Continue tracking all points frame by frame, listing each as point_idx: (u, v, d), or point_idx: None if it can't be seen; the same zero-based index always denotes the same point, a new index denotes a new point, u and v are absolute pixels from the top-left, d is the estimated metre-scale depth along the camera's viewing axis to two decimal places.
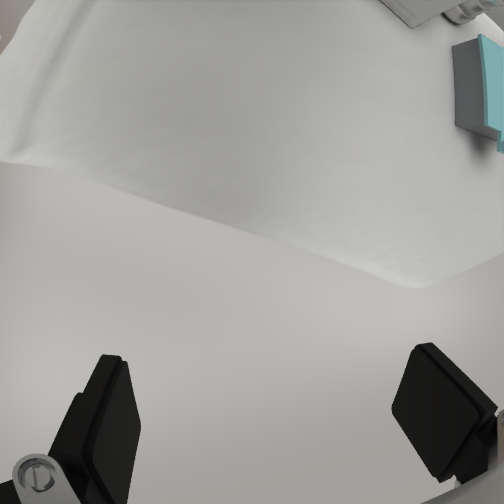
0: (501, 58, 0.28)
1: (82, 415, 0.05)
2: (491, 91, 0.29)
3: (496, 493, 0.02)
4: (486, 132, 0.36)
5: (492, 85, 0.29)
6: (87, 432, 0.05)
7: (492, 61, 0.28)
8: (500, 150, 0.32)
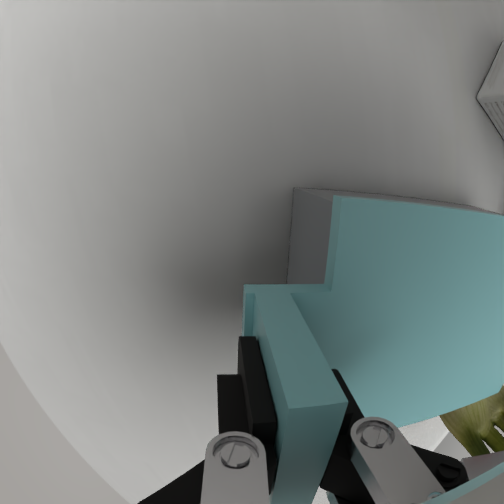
0: None
1: (257, 388, 0.07)
2: (455, 235, 0.11)
3: (496, 493, 0.02)
4: None
5: (470, 244, 0.11)
6: (271, 400, 0.07)
7: None
8: (249, 292, 0.11)
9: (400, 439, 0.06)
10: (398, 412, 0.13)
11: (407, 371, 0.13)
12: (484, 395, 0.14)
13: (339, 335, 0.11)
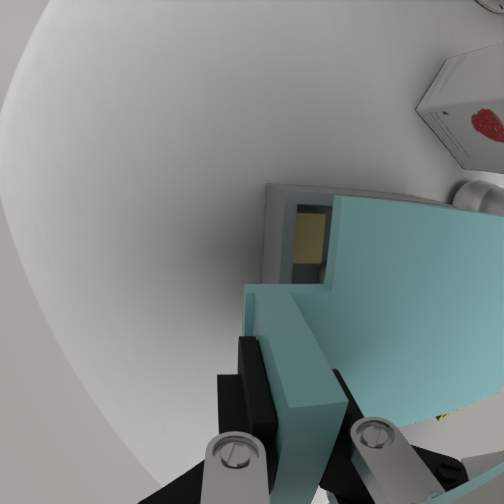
0: None
1: (257, 388, 0.07)
2: (455, 236, 0.11)
3: (496, 493, 0.02)
4: (269, 251, 0.24)
5: (470, 245, 0.11)
6: (270, 400, 0.07)
7: None
8: (250, 292, 0.11)
9: (400, 439, 0.06)
10: (397, 412, 0.13)
11: (406, 371, 0.13)
12: (483, 396, 0.15)
13: (339, 335, 0.11)
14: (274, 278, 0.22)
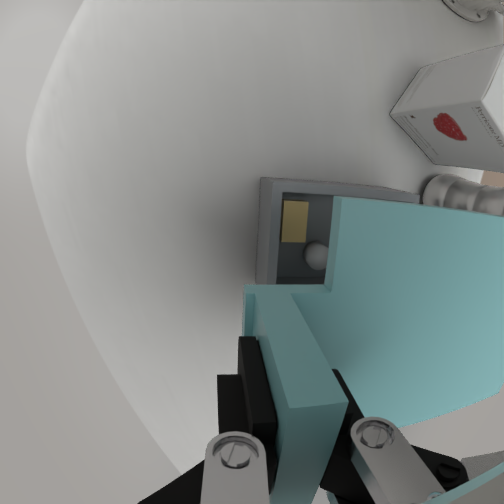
0: None
1: (257, 388, 0.07)
2: (455, 236, 0.11)
3: (496, 493, 0.02)
4: (262, 231, 0.30)
5: (469, 246, 0.11)
6: (270, 400, 0.07)
7: None
8: (250, 293, 0.11)
9: (400, 439, 0.06)
10: (397, 413, 0.13)
11: (407, 372, 0.13)
12: (483, 396, 0.15)
13: (339, 335, 0.11)
14: (265, 251, 0.28)
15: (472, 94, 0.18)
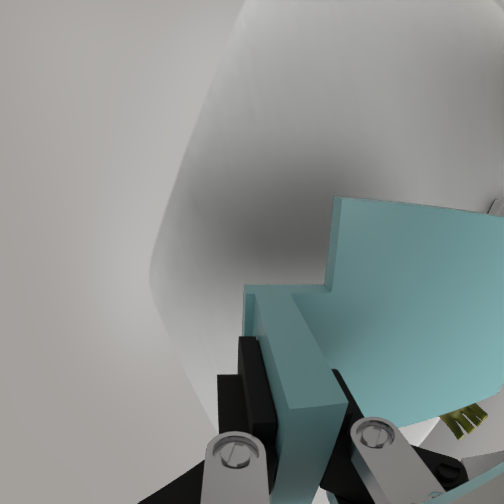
0: None
1: (257, 388, 0.07)
2: (455, 236, 0.11)
3: (496, 493, 0.02)
4: None
5: (469, 246, 0.11)
6: (271, 400, 0.07)
7: None
8: (250, 293, 0.11)
9: (400, 439, 0.06)
10: (397, 413, 0.13)
11: (407, 372, 0.13)
12: (483, 396, 0.15)
13: (339, 336, 0.11)
14: None
15: None
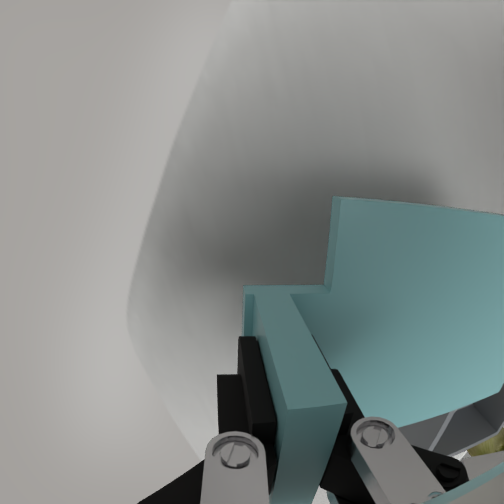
0: None
1: (256, 388, 0.07)
2: (454, 235, 0.11)
3: (496, 493, 0.02)
4: None
5: (469, 245, 0.11)
6: (270, 400, 0.07)
7: None
8: (249, 293, 0.11)
9: (400, 439, 0.06)
10: (398, 412, 0.13)
11: (407, 371, 0.13)
12: (484, 395, 0.15)
13: (339, 336, 0.11)
14: (426, 432, 0.23)
15: None
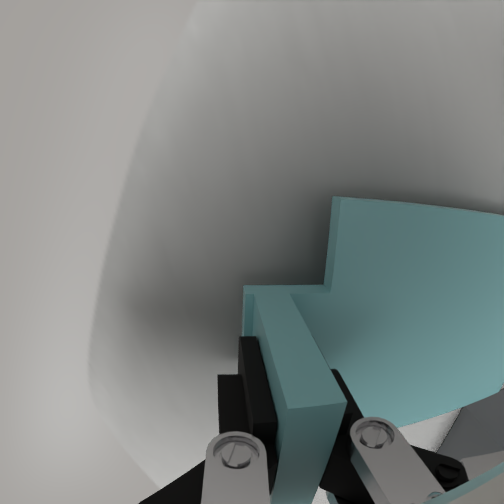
0: None
1: (257, 388, 0.07)
2: (454, 235, 0.11)
3: (496, 493, 0.02)
4: None
5: (469, 245, 0.11)
6: (271, 400, 0.07)
7: None
8: (249, 293, 0.11)
9: (400, 439, 0.06)
10: (398, 412, 0.13)
11: (407, 371, 0.13)
12: (484, 395, 0.15)
13: (339, 335, 0.11)
14: None
15: None
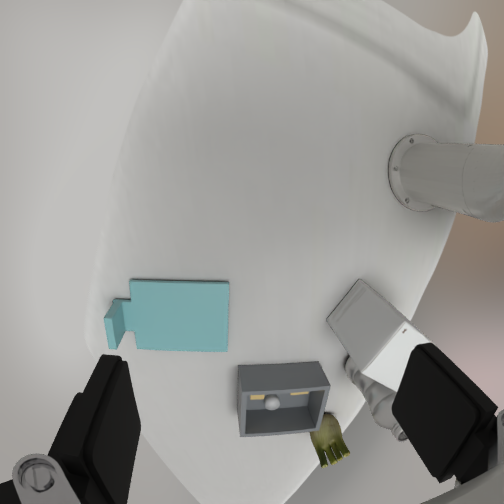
0: (212, 312, 0.46)
1: (82, 415, 0.05)
2: (165, 289, 0.45)
3: (496, 493, 0.02)
4: None
5: (172, 292, 0.45)
6: (87, 432, 0.05)
7: (201, 296, 0.45)
8: (113, 301, 0.44)
9: None
10: (166, 343, 0.47)
11: (162, 328, 0.46)
12: (215, 349, 0.48)
13: (136, 313, 0.45)
14: None
15: (361, 361, 0.37)
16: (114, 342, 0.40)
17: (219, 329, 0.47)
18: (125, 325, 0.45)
